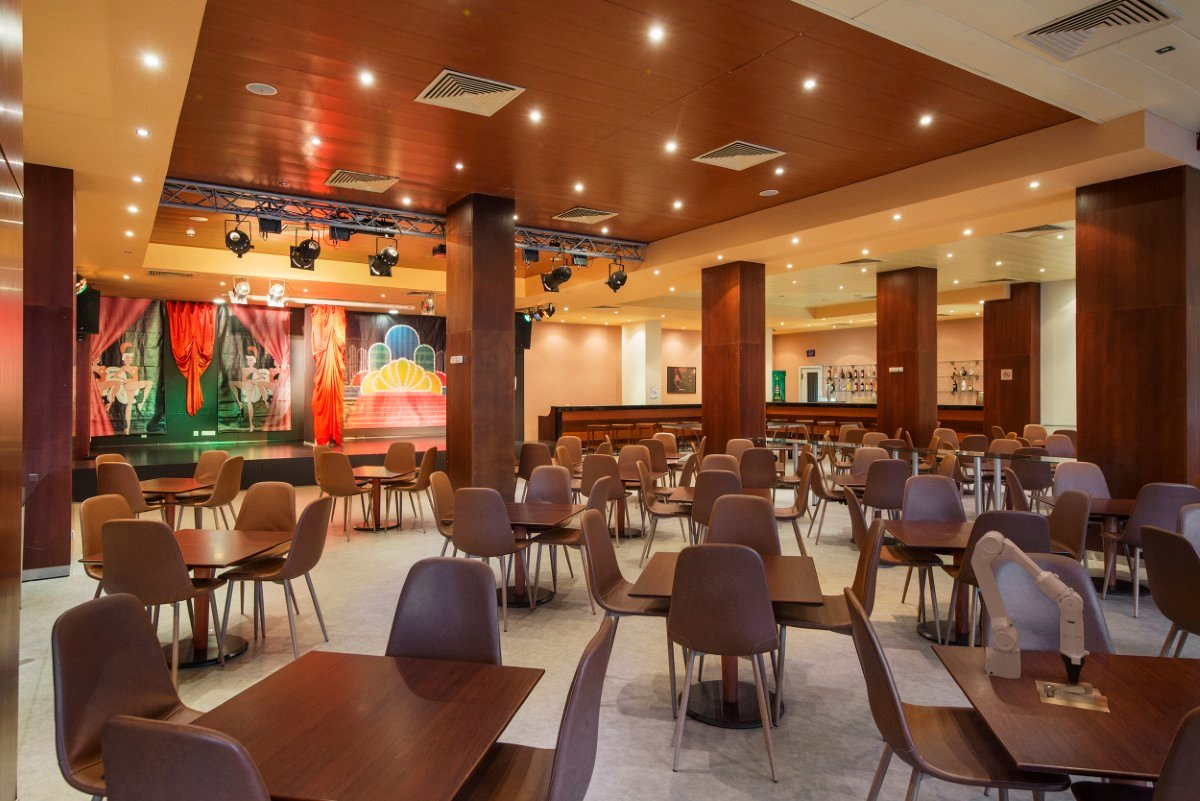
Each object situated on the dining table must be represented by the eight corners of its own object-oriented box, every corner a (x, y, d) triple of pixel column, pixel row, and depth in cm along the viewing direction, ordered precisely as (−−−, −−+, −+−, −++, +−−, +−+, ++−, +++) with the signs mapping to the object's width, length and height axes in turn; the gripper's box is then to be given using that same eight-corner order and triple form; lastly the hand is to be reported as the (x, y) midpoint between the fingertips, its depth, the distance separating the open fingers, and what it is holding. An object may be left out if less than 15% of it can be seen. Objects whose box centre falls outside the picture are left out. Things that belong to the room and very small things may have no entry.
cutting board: (1041, 706, 191) (1041, 701, 191) (1035, 684, 207) (1035, 680, 207) (1110, 716, 184) (1110, 712, 184) (1098, 693, 200) (1097, 688, 200)
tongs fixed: (1040, 697, 194) (1039, 687, 194) (1038, 691, 198) (1038, 681, 198) (1107, 707, 187) (1107, 696, 187) (1104, 701, 191) (1104, 691, 191)
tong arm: (1053, 694, 196) (1053, 686, 196) (1048, 691, 198) (1048, 683, 198) (1093, 693, 196) (1092, 685, 196) (1087, 690, 199) (1087, 682, 199)
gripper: (1092, 643, 195) (1094, 692, 194) (1084, 629, 207) (1085, 675, 207) (1062, 640, 198) (1064, 688, 197) (1056, 626, 211) (1057, 672, 210)
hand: (1073, 681), depth 202 cm, fingers closed
